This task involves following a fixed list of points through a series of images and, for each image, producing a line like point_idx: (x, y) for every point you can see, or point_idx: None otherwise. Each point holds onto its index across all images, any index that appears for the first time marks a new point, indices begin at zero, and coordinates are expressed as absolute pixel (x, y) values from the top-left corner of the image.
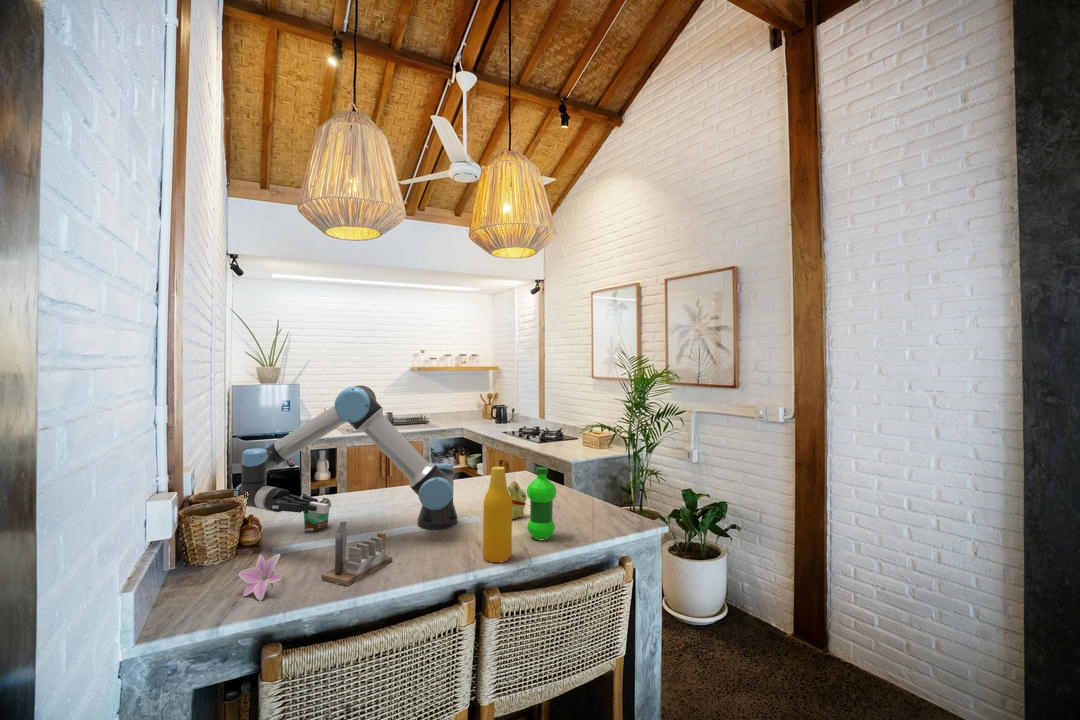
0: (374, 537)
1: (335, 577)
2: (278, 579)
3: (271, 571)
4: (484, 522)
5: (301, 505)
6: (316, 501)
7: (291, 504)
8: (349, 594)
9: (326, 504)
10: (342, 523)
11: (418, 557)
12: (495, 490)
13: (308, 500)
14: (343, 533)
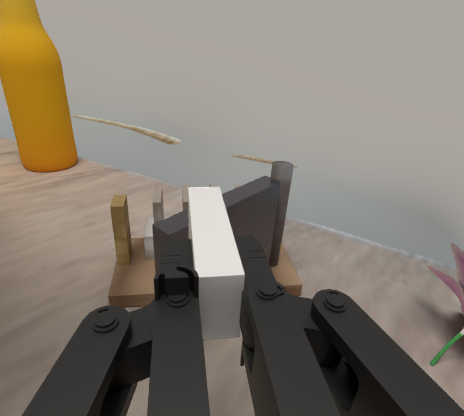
0: (157, 197)
1: (285, 255)
2: (434, 273)
3: (461, 282)
4: (54, 100)
5: (324, 297)
6: (121, 317)
7: (429, 376)
8: (290, 225)
9: (196, 190)
10: (182, 221)
11: (80, 226)
12: (43, 28)
13: (179, 358)
14: (251, 182)
